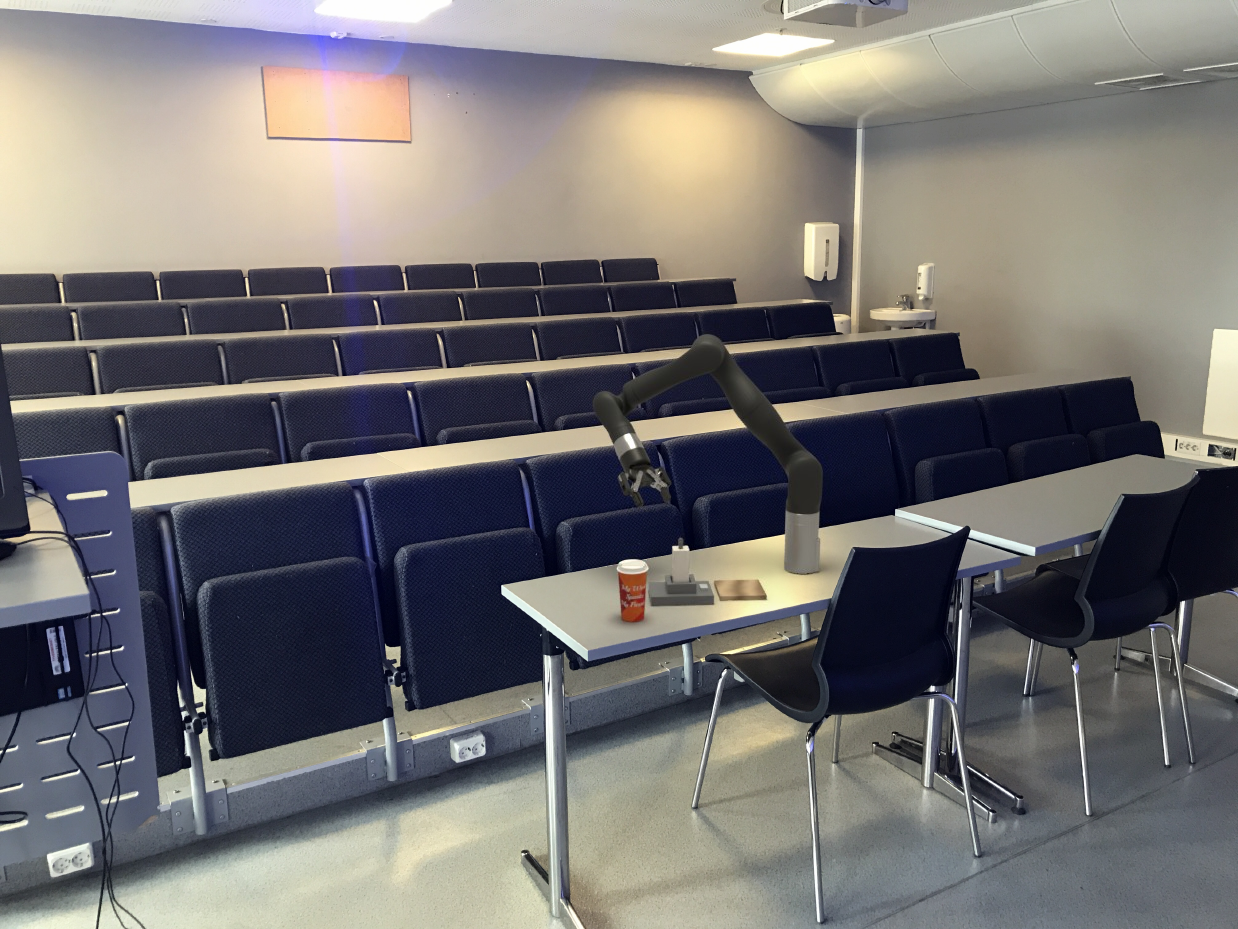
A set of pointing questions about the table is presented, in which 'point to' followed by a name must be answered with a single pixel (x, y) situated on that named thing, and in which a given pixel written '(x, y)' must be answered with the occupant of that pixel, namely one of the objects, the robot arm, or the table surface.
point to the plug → (680, 563)
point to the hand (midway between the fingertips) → (655, 503)
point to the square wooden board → (739, 590)
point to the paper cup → (632, 589)
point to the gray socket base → (680, 592)
